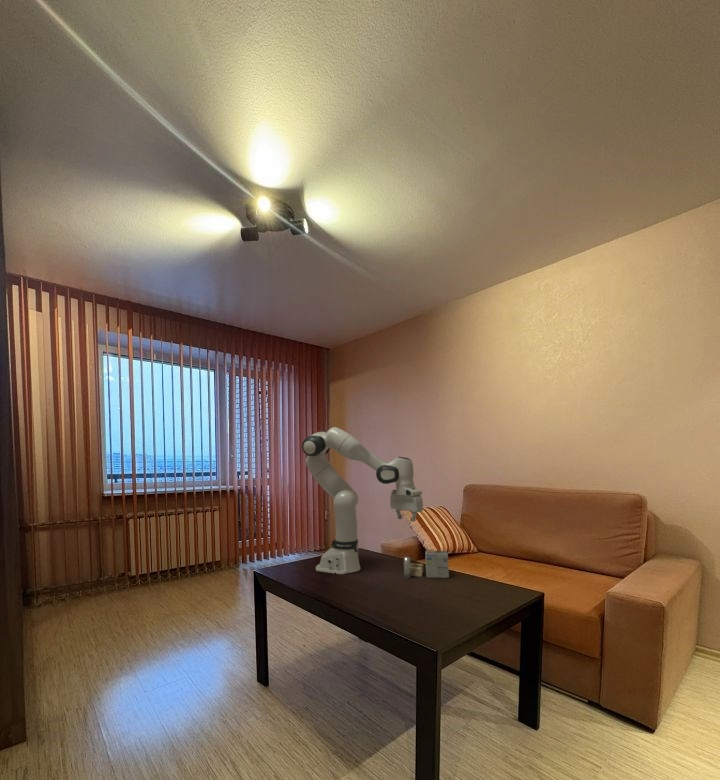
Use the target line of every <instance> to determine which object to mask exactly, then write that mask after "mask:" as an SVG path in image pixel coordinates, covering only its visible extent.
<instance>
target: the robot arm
mask: <svg viewBox="0 0 720 780" xmlns="http://www.w3.org/2000/svg"><path fill="white" fill-rule="evenodd" d="M301 449H302V451H303V454H305V455H306V458H305V465H306V468H307V469H308V471H309V472H310V475H312V477H313V478H314V479H315V481H316V482H317V483H318V485H319V486H320V488H321V489H323V491H324V492H326V493H327V494H328V495H329V496H330V497H331V498H332V499H333V514H334V521H335V522H334V524H335V538H333V540H332V541H331V542H330V545H331V547H330V548H329V549H328V550H326V551H325V552H324V553H323V554H322V556H321V557H320V561H319V563H318V564H317V565H316V566H315V571H316V572H321V573H329V574H335V573H336V574H335V575H346V574H349V573H355V572H358V571H360V570H361V569H362V568H361V565H360V560H359V552H358V551H359V539H358V521H357V508H356V506H357V505H358V503H359V502H358V501H359V496H358V494H357V493H358V492H356V491H355V489H354V488H353V487H352V486H351V485H350V484H349V483H348V482H347V481H346V480H345V479H344V478H343V477H342V476H341V475H340V473H339V472H338V471H337V470H336V469H335V468H334V467H333V465H332V463H330V462H329V460H328V459H327V458H326V454H328V453H329V452H330V450H331V449H332V450H334V451H335V452H337V453H338V454H339V455H340V456H342V457H345V458H346V459H348V460H351V461H358V462H361V463H364V465H367V466H369V467H370V468H371V469H373V470H374V471H375V476H376V479H377V480H378V482H380V483H382V484H384V485H389V484H393V483H395V489H392V491H391V492H390V494H391V495H390V499H389V501H390V502H389V505H390V508H391V509H393V510H395V512H396V516H397V519H398V520H402V519H403V515H402V513H401V511H406V512H411V515H412V516H411V517H410V522H416V517H417V515H418V513H422V512H423V510H424V501H423V497H422V495H423V491H422V490H421V489H420V488H418V487H416V486H415V482H414V472H415V471H414V464H413V461H412V460H411V458H409V457H404V456H397V457H395V458H394V459H393V460H392V459H391V461H387V462H386V461H384V460H382V459H381V458H379V457H378V456H377V455H375V454H373V453H372V452H371V451H370V450H368V449H367V448H366V447H365V446H364V445H363V444H362V443H361V442H360V441H359V440H358V439H356V437H354V436H353V435H351V434H350V433H348V432H347V431H345V430H343V429H341V428H339V427H337V426H334V427H331V428H329V429H328V430H327V431H326V430H321V431H318V432H314V433H313V434H311V435H308V436H307V437H306V438H304V439H303V441H302V444H301Z"/></svg>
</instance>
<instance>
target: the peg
mask: <svg viewBox="0 0 720 780" xmlns="http://www.w3.org/2000/svg"><path fill="white" fill-rule="evenodd" d="M410 563H411V557H410V556H404V557H403V575H404V576H403V578H404V579H411V577H412V576H410Z"/></svg>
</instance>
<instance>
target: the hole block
mask: <svg viewBox="0 0 720 780" xmlns="http://www.w3.org/2000/svg"><path fill="white" fill-rule="evenodd" d="M423 573H424V564H423V563H411V562H410V576H411V577H423Z"/></svg>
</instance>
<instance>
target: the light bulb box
mask: <svg viewBox="0 0 720 780" xmlns="http://www.w3.org/2000/svg"><path fill="white" fill-rule="evenodd" d="M424 552H425V553H424V555H425V556H424V559H425V561H424V562H425V575H426V578H435V579H436V578H439V579H442V578H443V579H449V578H450V571H449V570H450V569H449V553H448V551H447V550H425V551H424Z"/></svg>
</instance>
